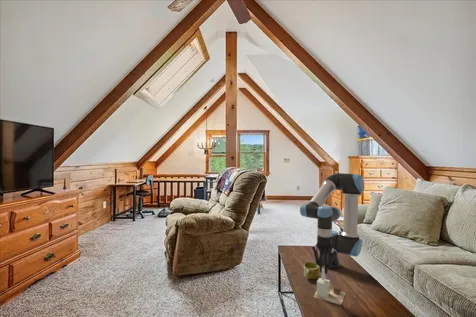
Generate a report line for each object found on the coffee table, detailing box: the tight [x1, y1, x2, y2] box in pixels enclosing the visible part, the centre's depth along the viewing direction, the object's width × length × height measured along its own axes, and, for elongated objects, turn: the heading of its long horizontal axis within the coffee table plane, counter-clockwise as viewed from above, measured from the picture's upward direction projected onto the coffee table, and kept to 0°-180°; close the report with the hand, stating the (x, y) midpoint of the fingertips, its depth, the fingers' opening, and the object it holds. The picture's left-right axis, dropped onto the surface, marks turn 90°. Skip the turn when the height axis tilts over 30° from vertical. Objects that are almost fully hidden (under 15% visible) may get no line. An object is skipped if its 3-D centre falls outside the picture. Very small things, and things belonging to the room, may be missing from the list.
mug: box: [303, 261, 320, 280], centre depth 162 cm, size 12×10×10 cm
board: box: [313, 285, 346, 306], centre depth 140 cm, size 14×14×4 cm
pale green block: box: [316, 277, 331, 299], centre depth 140 cm, size 6×6×8 cm
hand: (323, 278), depth 140 cm, fingers closed
